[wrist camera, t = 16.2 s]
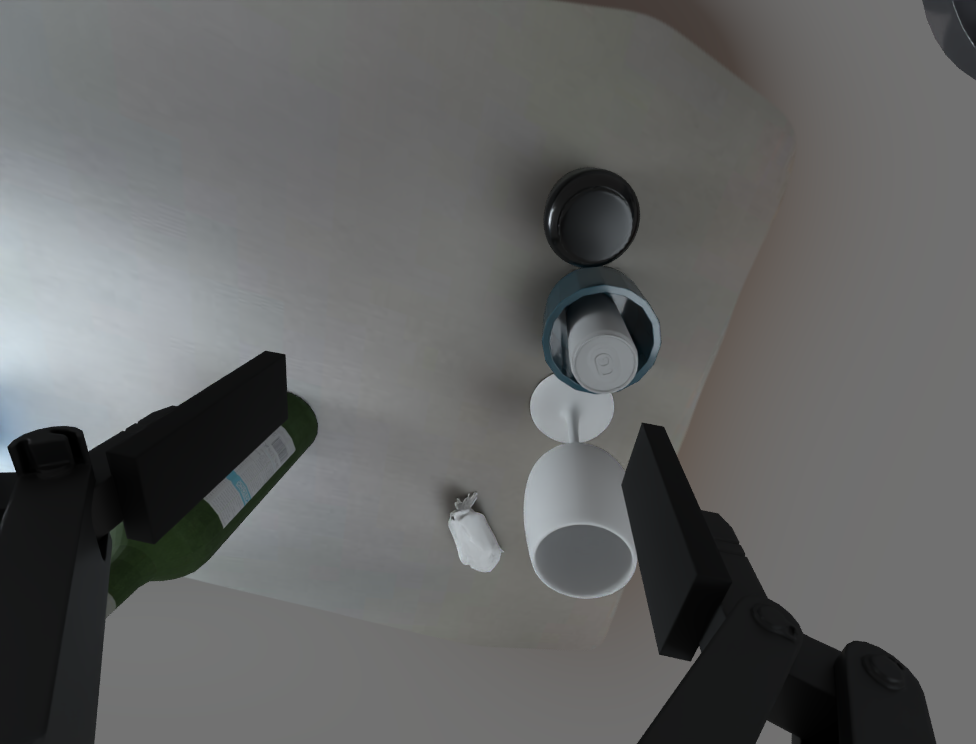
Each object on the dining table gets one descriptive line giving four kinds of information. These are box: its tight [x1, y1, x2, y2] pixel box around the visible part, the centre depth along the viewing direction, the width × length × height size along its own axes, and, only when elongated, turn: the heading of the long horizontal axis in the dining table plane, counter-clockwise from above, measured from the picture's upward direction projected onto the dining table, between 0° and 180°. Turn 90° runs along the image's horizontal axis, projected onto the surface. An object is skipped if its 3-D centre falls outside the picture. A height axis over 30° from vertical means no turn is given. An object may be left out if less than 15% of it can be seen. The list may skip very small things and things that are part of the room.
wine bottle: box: [105, 393, 318, 619], centre depth 40 cm, size 8×8×30 cm
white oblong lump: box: [448, 492, 504, 572], centre depth 54 cm, size 5×7×10 cm
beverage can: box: [566, 293, 638, 394], centre depth 37 cm, size 5×5×12 cm
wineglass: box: [524, 374, 637, 599], centre depth 38 cm, size 9×9×21 cm
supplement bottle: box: [544, 167, 640, 268], centre depth 35 cm, size 7×7×12 cm
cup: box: [542, 266, 661, 394], centre depth 40 cm, size 9×9×8 cm
